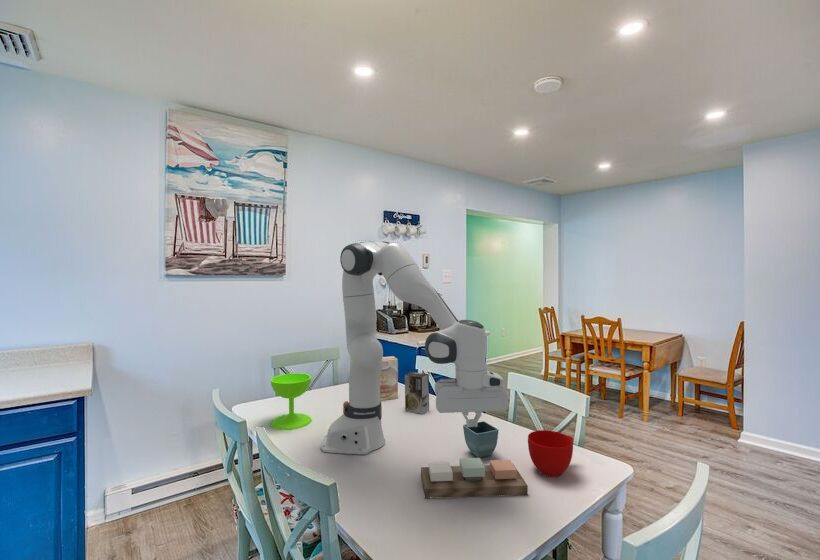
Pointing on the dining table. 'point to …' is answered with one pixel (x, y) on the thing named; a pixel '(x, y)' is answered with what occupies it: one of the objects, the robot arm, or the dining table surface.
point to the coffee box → (417, 392)
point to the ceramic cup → (550, 451)
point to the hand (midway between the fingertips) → (471, 426)
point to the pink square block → (503, 469)
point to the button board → (472, 485)
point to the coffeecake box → (389, 379)
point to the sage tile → (472, 468)
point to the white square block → (440, 472)
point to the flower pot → (481, 439)
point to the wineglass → (291, 399)
